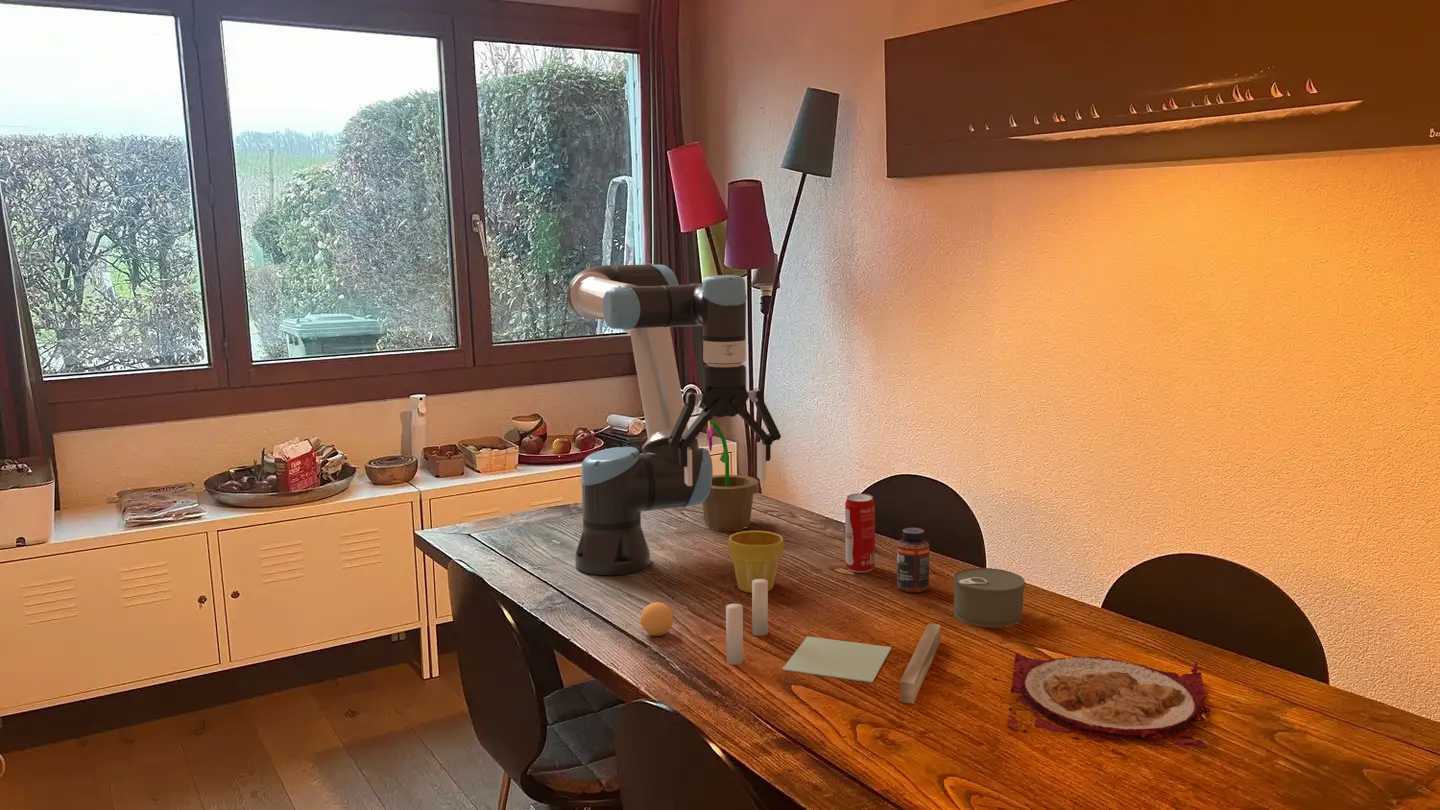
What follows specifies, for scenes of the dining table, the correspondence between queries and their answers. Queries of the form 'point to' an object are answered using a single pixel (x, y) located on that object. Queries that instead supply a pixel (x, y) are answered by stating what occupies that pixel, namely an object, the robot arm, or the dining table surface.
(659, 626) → the ball
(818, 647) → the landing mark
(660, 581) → the dining table surface
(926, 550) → the supplement bottle
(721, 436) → the flowerpot
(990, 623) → the can
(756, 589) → the post
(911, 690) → the wall
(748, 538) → the plant pot
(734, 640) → the post
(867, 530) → the beverage can
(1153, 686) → the plate with food
